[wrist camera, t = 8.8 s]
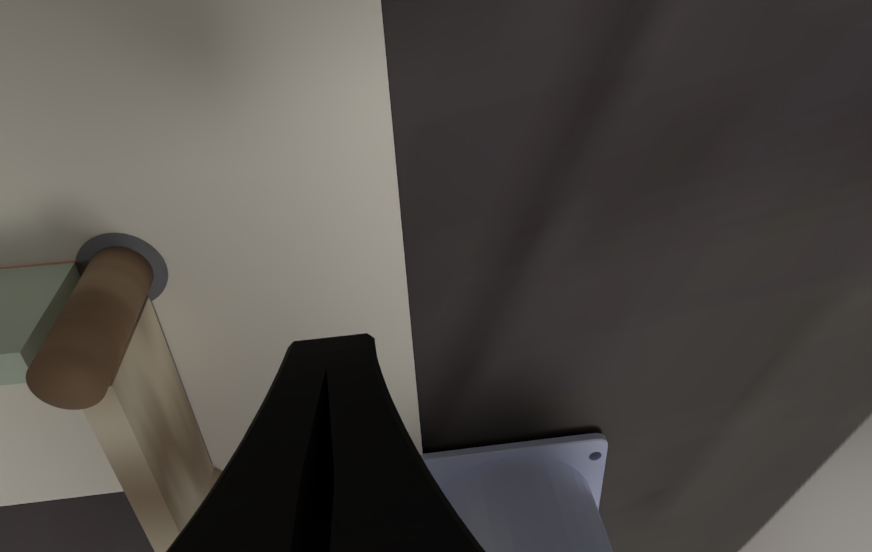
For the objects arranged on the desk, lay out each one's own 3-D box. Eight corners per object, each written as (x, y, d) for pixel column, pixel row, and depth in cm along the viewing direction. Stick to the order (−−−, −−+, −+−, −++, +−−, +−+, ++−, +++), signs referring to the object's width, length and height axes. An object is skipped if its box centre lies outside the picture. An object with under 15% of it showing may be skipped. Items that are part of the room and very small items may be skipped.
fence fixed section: (235, 486, 27) (214, 614, 22) (189, 492, 26) (159, 621, 22) (146, 236, 20) (92, 350, 16) (84, 242, 20) (13, 359, 15)
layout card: (422, 448, 26) (422, 456, 26) (-44, 505, 25) (-50, 514, 25) (367, -139, 15) (367, -138, 15) (-489, -83, 14) (-510, -81, 14)
